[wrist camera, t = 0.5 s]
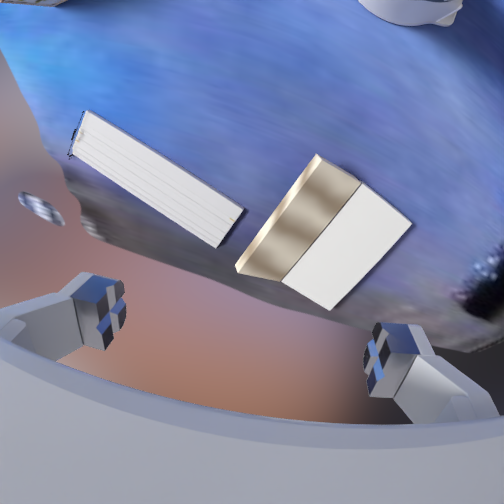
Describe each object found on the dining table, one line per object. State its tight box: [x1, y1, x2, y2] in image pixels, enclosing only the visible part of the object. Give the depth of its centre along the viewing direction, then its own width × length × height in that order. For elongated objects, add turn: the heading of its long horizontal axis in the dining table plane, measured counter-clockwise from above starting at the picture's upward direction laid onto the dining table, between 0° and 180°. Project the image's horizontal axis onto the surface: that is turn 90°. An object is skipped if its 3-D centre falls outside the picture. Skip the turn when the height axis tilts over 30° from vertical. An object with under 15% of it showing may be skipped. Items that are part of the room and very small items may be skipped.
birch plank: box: [235, 154, 361, 281], centre depth 45 cm, size 20×8×2 cm, turn 148°
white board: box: [281, 180, 412, 311], centre depth 48 cm, size 20×10×2 cm, turn 148°
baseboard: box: [67, 110, 244, 248], centre depth 47 cm, size 30×3×10 cm
